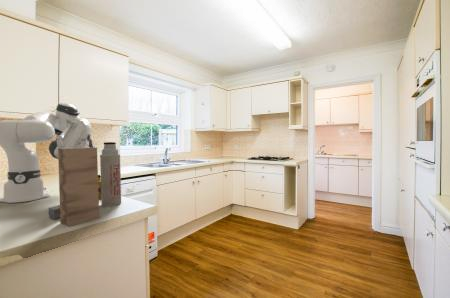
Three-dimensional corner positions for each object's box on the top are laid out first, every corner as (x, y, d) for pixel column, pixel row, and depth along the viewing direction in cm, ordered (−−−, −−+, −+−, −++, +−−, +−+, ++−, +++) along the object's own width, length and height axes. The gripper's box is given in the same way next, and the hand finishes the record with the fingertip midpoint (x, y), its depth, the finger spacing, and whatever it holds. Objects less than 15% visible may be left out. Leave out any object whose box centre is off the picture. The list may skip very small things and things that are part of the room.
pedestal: (60, 223, 77) (57, 148, 76) (90, 214, 85) (88, 147, 84) (68, 226, 73) (65, 148, 72) (99, 217, 82) (97, 147, 81)
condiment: (103, 200, 106) (102, 175, 106) (82, 203, 102) (81, 177, 101) (102, 197, 113) (101, 173, 112) (82, 199, 108) (81, 175, 107)
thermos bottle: (124, 203, 100) (122, 142, 99) (105, 207, 95) (103, 142, 94) (117, 200, 106) (115, 142, 105) (98, 203, 100) (97, 142, 99)
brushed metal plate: (47, 183, 81) (53, 185, 79) (77, 179, 90) (83, 180, 87) (48, 218, 82) (54, 220, 79) (78, 211, 90) (84, 213, 88)
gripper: (58, 165, 97) (42, 146, 86) (79, 130, 109) (66, 110, 98) (73, 166, 98) (59, 148, 86) (92, 131, 110) (81, 111, 99)
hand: (63, 127), depth 92 cm, fingers open, 8 cm apart
